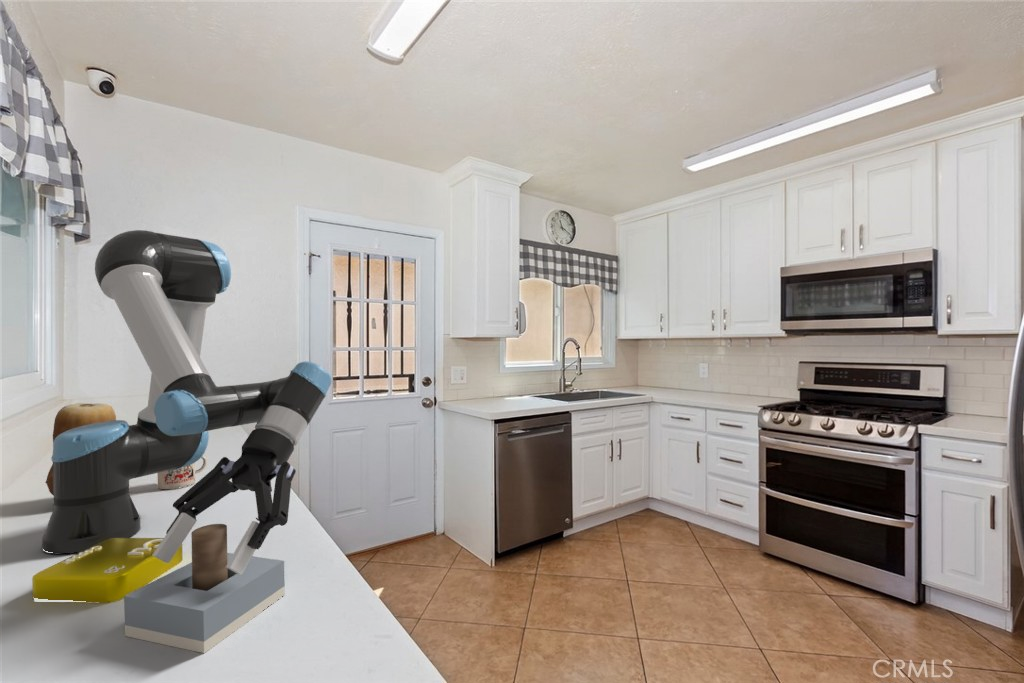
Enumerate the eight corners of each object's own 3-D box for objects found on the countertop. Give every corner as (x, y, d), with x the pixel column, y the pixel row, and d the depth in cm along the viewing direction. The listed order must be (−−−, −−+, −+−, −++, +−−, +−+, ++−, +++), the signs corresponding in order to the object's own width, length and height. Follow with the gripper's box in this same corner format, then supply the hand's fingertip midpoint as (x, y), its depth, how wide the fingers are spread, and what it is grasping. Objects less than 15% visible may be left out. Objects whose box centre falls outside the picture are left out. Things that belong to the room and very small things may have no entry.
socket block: (124, 635, 64) (124, 596, 64) (215, 583, 78) (214, 550, 78) (204, 653, 60) (203, 611, 60) (284, 595, 74) (284, 560, 74)
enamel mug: (162, 492, 125) (161, 449, 125) (152, 486, 131) (151, 445, 131) (212, 481, 135) (211, 441, 135) (201, 476, 140) (200, 437, 140)
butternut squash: (114, 502, 118) (112, 404, 118) (40, 514, 110) (38, 409, 110) (121, 488, 129) (119, 398, 129) (54, 498, 122) (52, 403, 122)
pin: (185, 610, 67) (183, 534, 67) (212, 593, 72) (211, 522, 72) (208, 614, 66) (207, 537, 66) (235, 597, 70) (233, 525, 70)
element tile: (110, 559, 88) (110, 534, 88) (188, 560, 87) (187, 534, 87) (24, 605, 73) (24, 574, 73) (117, 606, 72) (116, 575, 72)
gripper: (346, 453, 80) (282, 585, 66) (231, 446, 87) (150, 564, 73) (325, 429, 75) (250, 566, 61) (204, 423, 82) (112, 544, 68)
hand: (196, 565), depth 67 cm, fingers open, 13 cm apart
